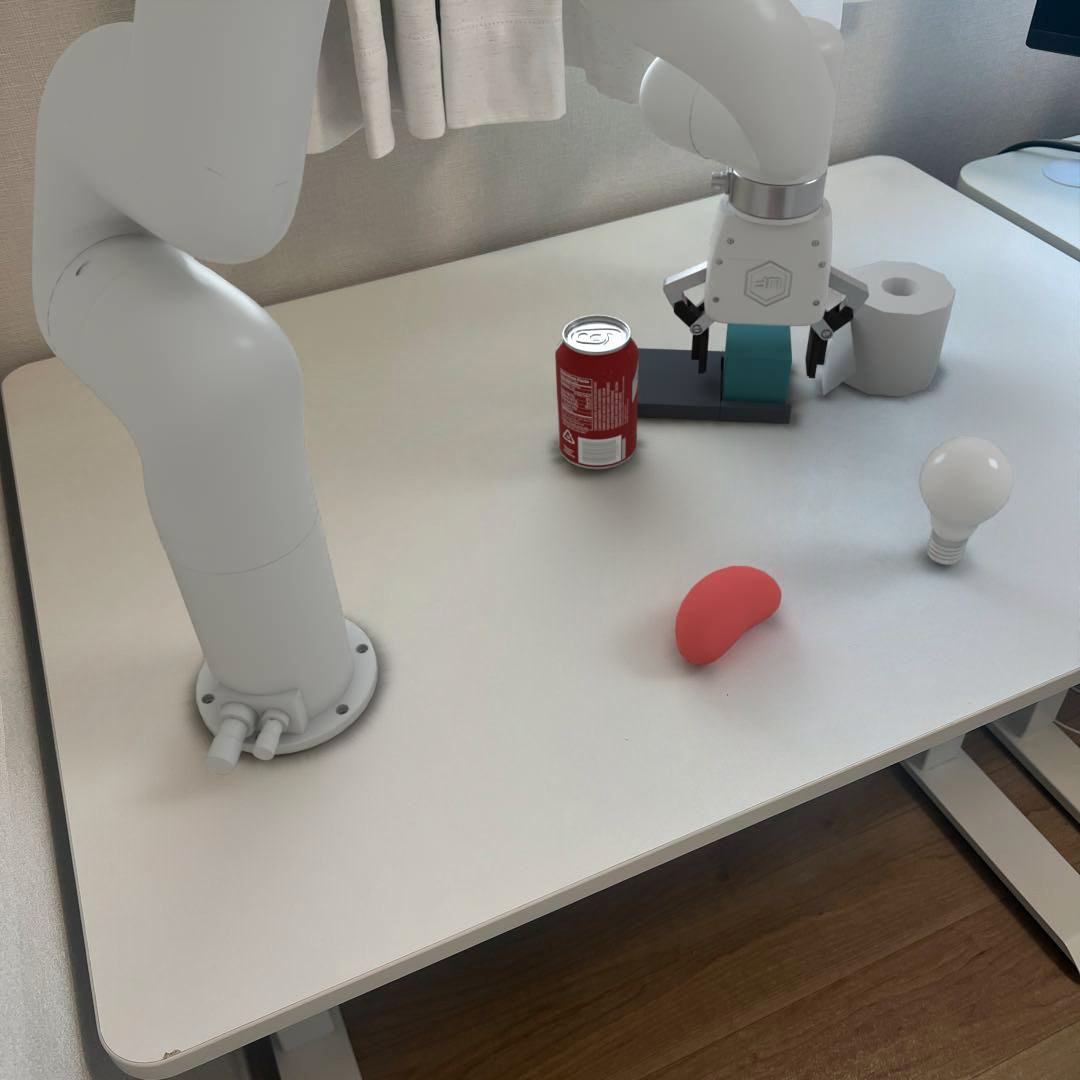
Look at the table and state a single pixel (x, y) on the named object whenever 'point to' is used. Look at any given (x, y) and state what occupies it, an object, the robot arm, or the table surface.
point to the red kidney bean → (723, 611)
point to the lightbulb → (962, 492)
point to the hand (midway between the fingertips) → (755, 367)
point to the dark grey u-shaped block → (694, 390)
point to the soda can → (597, 392)
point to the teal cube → (757, 363)
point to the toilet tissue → (892, 331)
